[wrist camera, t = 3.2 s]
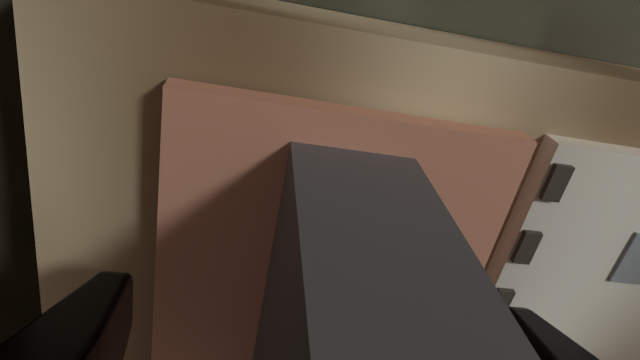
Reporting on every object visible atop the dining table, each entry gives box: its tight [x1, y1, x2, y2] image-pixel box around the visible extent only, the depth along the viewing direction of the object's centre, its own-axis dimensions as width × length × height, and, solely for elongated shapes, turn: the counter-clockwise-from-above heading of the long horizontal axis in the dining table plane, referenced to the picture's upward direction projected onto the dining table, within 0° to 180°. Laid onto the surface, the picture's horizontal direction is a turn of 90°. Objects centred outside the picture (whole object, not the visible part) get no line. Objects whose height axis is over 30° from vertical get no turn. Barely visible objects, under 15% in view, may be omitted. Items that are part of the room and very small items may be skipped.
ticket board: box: [12, 0, 640, 360], centre depth 9 cm, size 16×8×2 cm, turn 79°
